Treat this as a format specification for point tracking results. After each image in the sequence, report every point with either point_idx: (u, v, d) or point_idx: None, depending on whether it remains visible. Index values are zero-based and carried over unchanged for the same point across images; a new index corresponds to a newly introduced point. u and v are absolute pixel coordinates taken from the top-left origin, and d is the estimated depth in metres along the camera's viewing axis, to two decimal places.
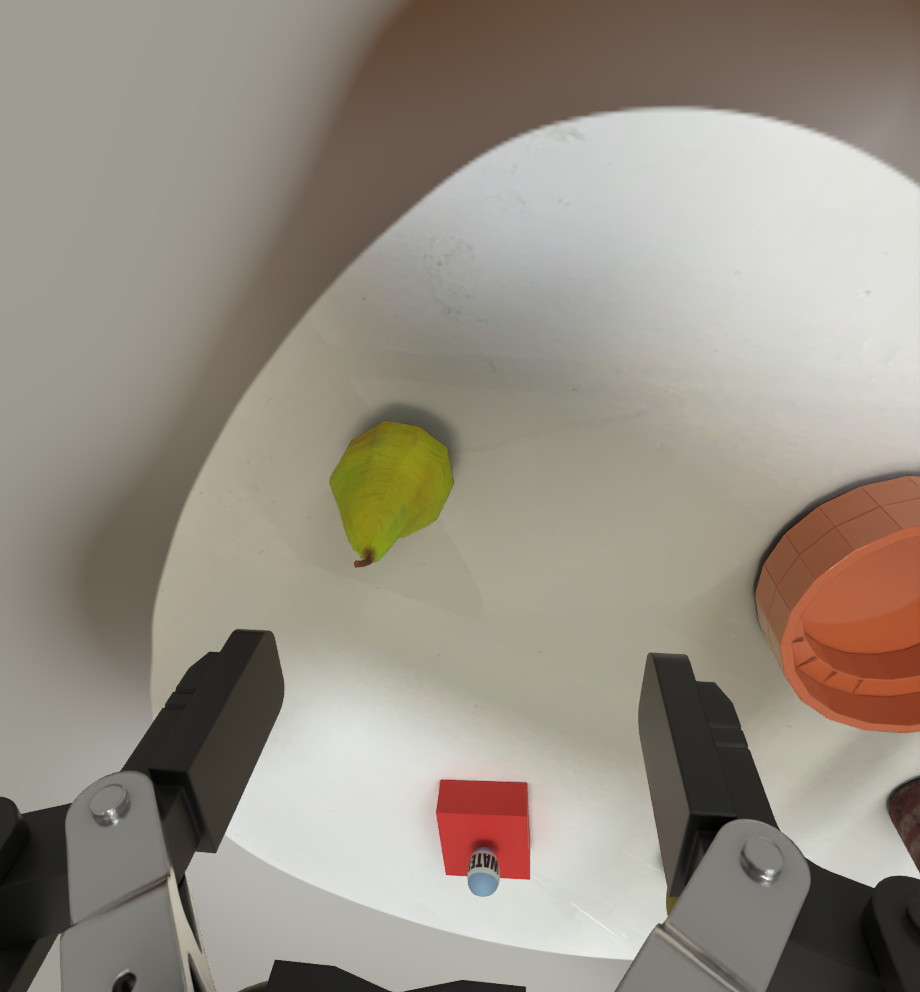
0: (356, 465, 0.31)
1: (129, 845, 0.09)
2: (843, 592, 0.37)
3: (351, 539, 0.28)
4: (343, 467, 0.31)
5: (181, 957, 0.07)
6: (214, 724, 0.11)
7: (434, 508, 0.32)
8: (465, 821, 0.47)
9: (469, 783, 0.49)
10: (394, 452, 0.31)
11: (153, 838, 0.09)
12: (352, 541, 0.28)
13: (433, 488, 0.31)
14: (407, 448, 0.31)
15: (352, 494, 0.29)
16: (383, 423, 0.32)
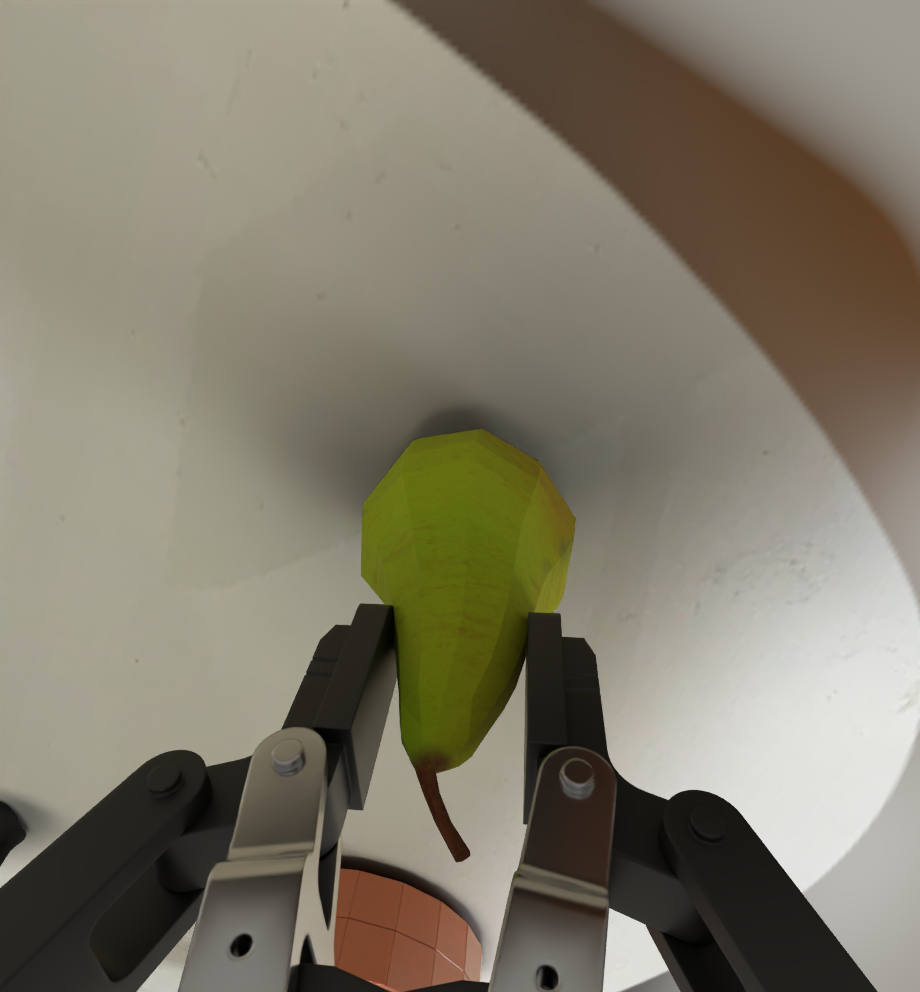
0: (533, 544, 0.15)
1: (291, 803, 0.09)
2: None
3: (448, 691, 0.12)
4: (518, 502, 0.15)
5: (292, 944, 0.07)
6: (364, 688, 0.12)
7: None
8: None
9: None
10: (552, 596, 0.16)
11: (311, 806, 0.09)
12: (445, 697, 0.12)
13: None
14: (555, 606, 0.17)
15: (513, 612, 0.13)
16: None
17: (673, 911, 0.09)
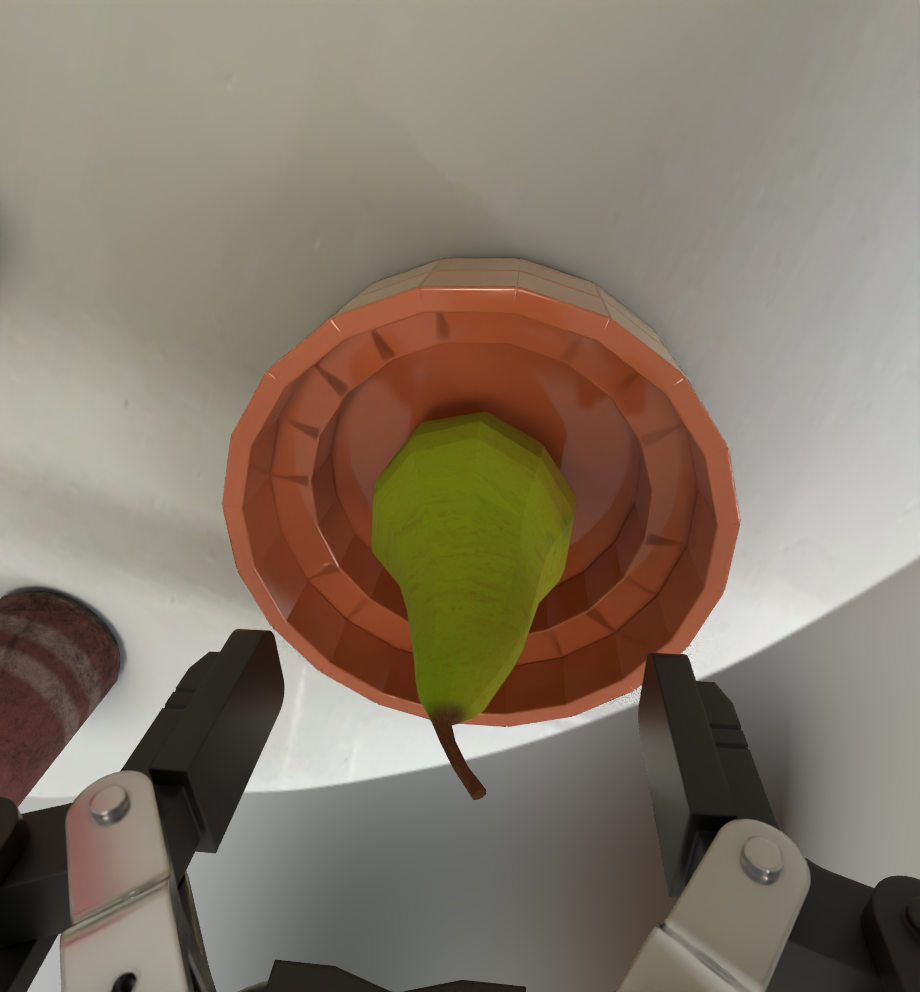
0: (537, 518, 0.16)
1: (129, 845, 0.09)
2: None
3: (461, 650, 0.13)
4: (523, 478, 0.16)
5: (181, 957, 0.07)
6: (214, 724, 0.11)
7: None
8: None
9: None
10: (555, 568, 0.17)
11: (153, 838, 0.09)
12: (459, 655, 0.13)
13: None
14: (557, 579, 0.18)
15: (520, 579, 0.14)
16: None
17: None
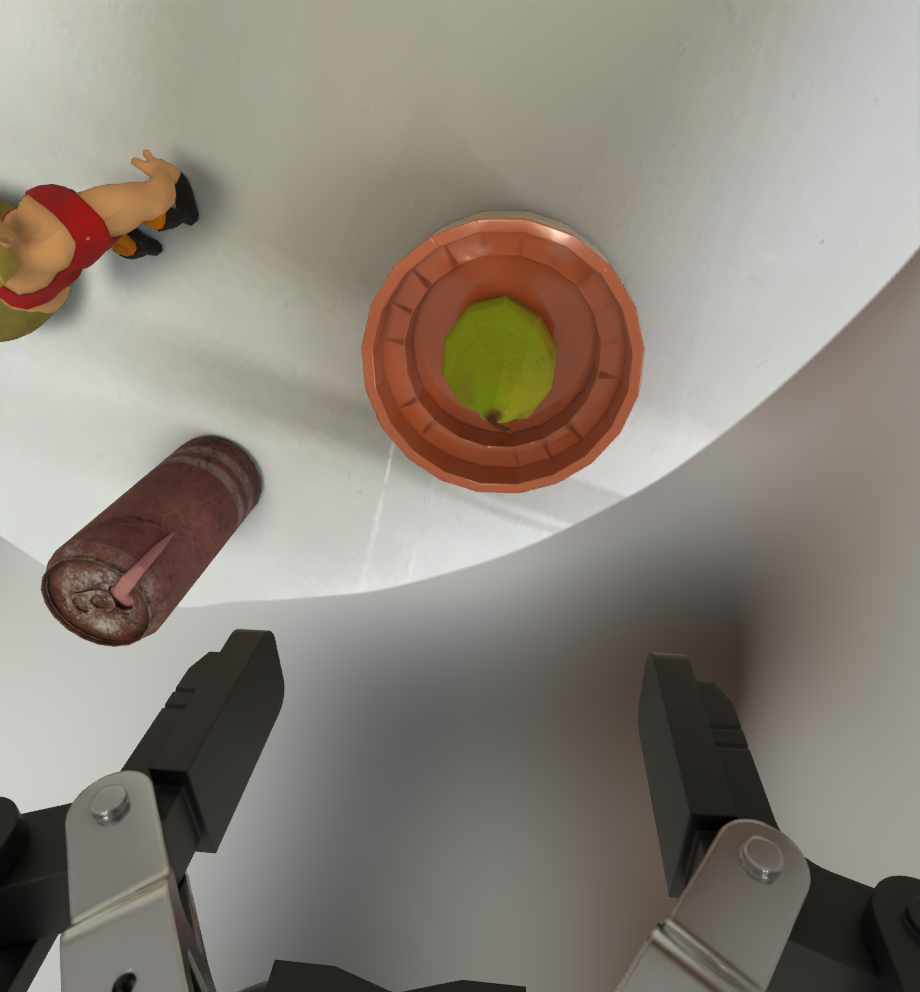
0: (535, 345, 0.30)
1: (129, 845, 0.09)
2: None
3: (499, 387, 0.27)
4: (528, 325, 0.30)
5: (181, 957, 0.07)
6: (214, 724, 0.11)
7: None
8: None
9: None
10: (545, 380, 0.31)
11: (153, 838, 0.09)
12: (498, 389, 0.27)
13: None
14: (547, 389, 0.32)
15: (527, 365, 0.29)
16: None
17: None
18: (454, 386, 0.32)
